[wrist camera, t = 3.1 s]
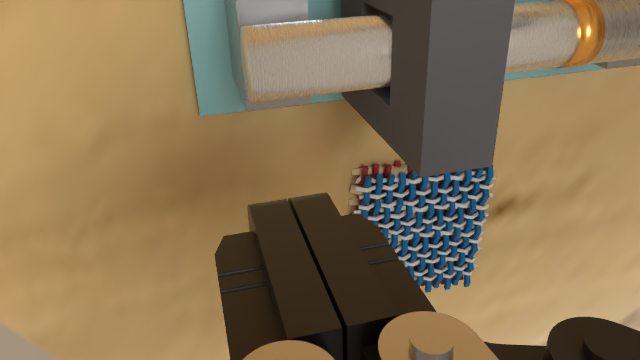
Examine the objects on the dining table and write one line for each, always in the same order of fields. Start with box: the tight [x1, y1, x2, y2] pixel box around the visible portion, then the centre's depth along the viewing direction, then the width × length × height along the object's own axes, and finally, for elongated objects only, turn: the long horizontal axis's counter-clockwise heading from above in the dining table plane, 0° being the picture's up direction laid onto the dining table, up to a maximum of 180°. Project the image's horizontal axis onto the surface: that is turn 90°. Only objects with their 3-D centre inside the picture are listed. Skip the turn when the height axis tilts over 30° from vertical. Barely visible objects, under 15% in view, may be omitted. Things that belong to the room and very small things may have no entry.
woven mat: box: [349, 161, 496, 292], centre depth 37 cm, size 10×11×2 cm
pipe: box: [224, 0, 640, 111], centre depth 26 cm, size 22×5×9 cm, turn 92°
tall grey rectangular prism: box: [341, 0, 515, 177], centre depth 22 cm, size 3×7×10 cm, turn 2°
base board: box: [183, 0, 603, 117], centre depth 30 cm, size 26×9×1 cm, turn 92°
